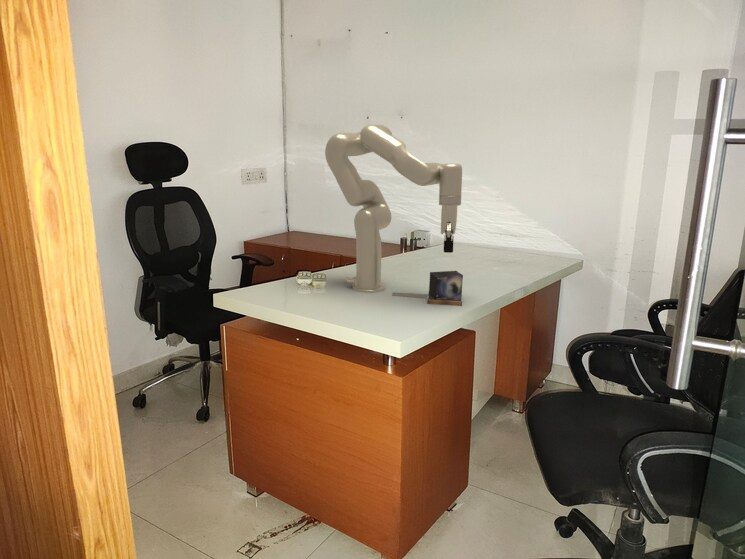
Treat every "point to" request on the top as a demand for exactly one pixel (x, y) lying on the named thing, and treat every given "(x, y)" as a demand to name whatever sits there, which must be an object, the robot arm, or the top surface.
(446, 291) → the small box
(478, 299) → the top surface
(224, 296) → the top surface
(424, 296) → the rubber mat
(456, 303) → the brown open frame
